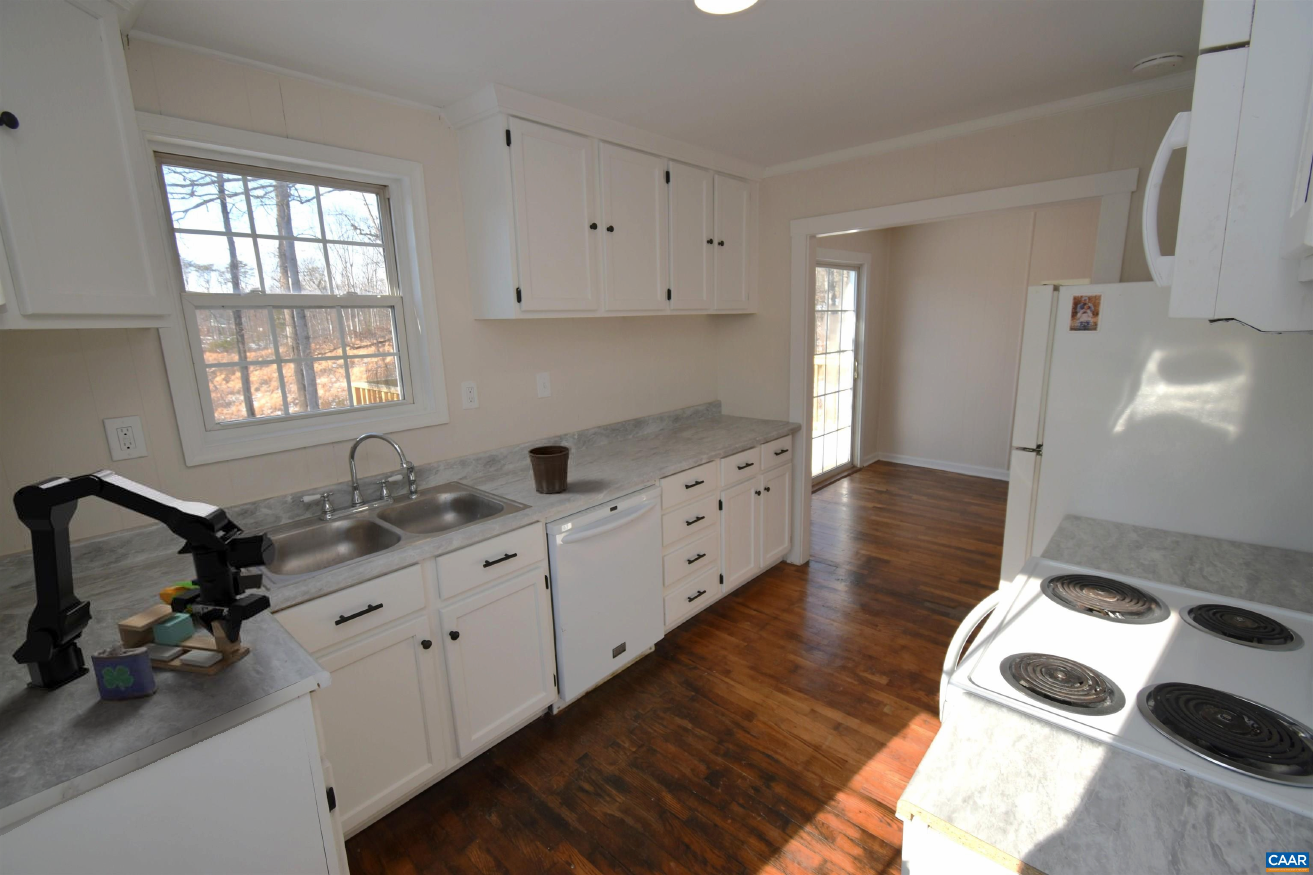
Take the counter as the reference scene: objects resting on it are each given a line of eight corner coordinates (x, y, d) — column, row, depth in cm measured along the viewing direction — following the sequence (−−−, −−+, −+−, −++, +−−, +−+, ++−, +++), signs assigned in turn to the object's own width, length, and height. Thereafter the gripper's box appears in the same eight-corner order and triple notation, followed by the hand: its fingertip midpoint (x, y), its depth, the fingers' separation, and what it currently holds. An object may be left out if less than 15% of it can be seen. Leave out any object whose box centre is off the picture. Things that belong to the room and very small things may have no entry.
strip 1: (228, 655, 115) (222, 623, 114) (154, 644, 120) (147, 614, 118) (242, 646, 118) (236, 616, 117) (169, 636, 123) (162, 607, 121)
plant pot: (568, 495, 217) (566, 454, 213) (526, 496, 217) (523, 455, 214) (575, 483, 233) (573, 444, 229) (536, 484, 233) (533, 445, 230)
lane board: (212, 675, 111) (204, 635, 109) (126, 661, 116) (117, 623, 114) (250, 651, 119) (242, 614, 117) (167, 640, 124) (159, 604, 122)
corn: (200, 594, 128) (138, 583, 134) (204, 626, 129) (143, 614, 135) (233, 581, 135) (173, 572, 141) (236, 612, 136) (177, 601, 142)
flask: (161, 688, 107) (148, 636, 105) (149, 698, 104) (136, 646, 102) (108, 692, 107) (94, 640, 104) (94, 702, 104) (80, 649, 101)
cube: (173, 645, 117) (168, 625, 116) (156, 643, 118) (151, 623, 117) (195, 633, 122) (190, 614, 121) (178, 631, 123) (174, 612, 122)
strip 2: (207, 666, 112) (206, 662, 111) (133, 655, 116) (132, 651, 116) (222, 657, 114) (221, 653, 114) (149, 647, 119) (148, 643, 119)
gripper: (287, 557, 119) (298, 625, 122) (215, 550, 123) (228, 616, 126) (237, 581, 108) (251, 655, 111) (161, 573, 112) (177, 644, 116)
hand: (228, 641), depth 117 cm, fingers closed on strip 1, 3 cm apart
